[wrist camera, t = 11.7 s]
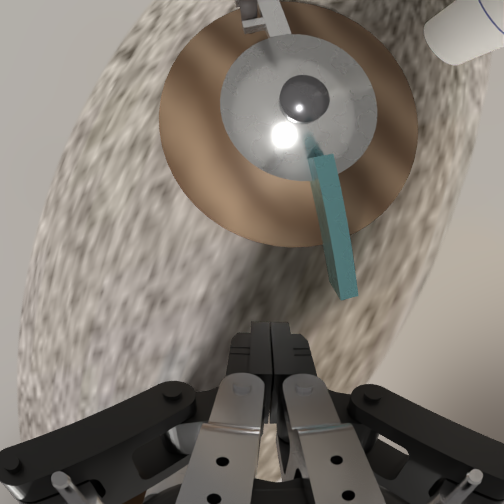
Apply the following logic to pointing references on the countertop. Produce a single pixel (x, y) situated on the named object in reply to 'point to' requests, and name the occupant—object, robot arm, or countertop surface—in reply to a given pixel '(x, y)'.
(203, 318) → the countertop surface
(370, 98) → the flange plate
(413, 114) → the base plate
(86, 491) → the robot arm
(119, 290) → the countertop surface
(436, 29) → the cylindrical container
